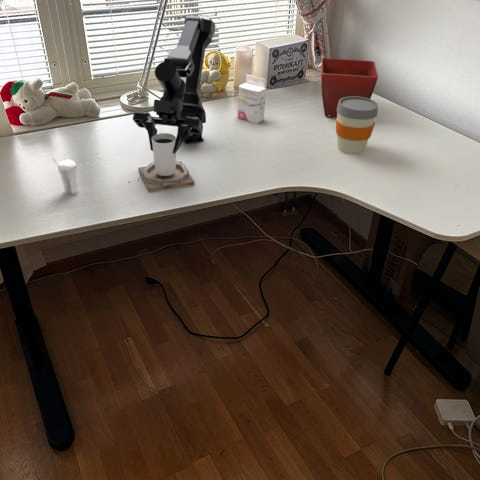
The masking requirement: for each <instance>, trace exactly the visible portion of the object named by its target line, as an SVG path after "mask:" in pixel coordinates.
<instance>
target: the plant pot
mask: <svg viewBox="0 0 480 480" xmlns="http://www.w3.org/2000/svg"><path fill="white" fill-rule="evenodd" d="M375 62H376V61H373V60H372V61H371V60H364V59H363V60H359V59H345V58H329V57H328V58H327V57H324V58H321V71H320V72H321V73H320V74H321V76H320V78H321V81H320V82H321V83H320V84H321V96H322V97H321V99H322V106H323V107H322V108H323V111H324V117H326V118H335V119H336V118H337V106H338V102H339V100H340V99H341V98H344V97H350V96H357V97H364V98H368V99H371V98H372V95H373V93H374V90H375V87H376V85H377V81H378V79H379V75H378V72H377V68H376V67H377V66H376V63H375ZM329 115H330V116H329Z"/></svg>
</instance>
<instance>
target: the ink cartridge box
mask: <svg viewBox="0 0 480 480" xmlns="http://www.w3.org/2000/svg"><path fill="white" fill-rule="evenodd" d="M255 80H256V81H255ZM266 83H267V79H266V78H262V77H260V76H259V77H258V76H255V75H250V74H245V82H244V83H242V84H240V85H239V86H238V99H237V100H238V101H237V103H238V104H237V119H241V120H243V121H247V122H251V123H254V124H259V123H260V122H262V121H263V120H265V109H266V92H267V87H266Z"/></svg>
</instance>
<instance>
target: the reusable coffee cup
mask: <svg viewBox="0 0 480 480" xmlns="http://www.w3.org/2000/svg"><path fill="white" fill-rule="evenodd" d="M378 110H379V104H378V103H377V101H375V100H374V99H371V98H370V99H368V98H364V97H357V96H350V97H344V98H341V99H340V100H339V102H338V106H337V118H335V133H336V139H337V140H336V148H337V150H338V151H340V152H341V153H344V154H348V155H360V154H363V153H364V152H365V151H366V148H367V145H368V142H369V139H370V138H371V137H372V134H373V131H374V128H375V124H376V117H377V116H378V112H379V111H378Z"/></svg>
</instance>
